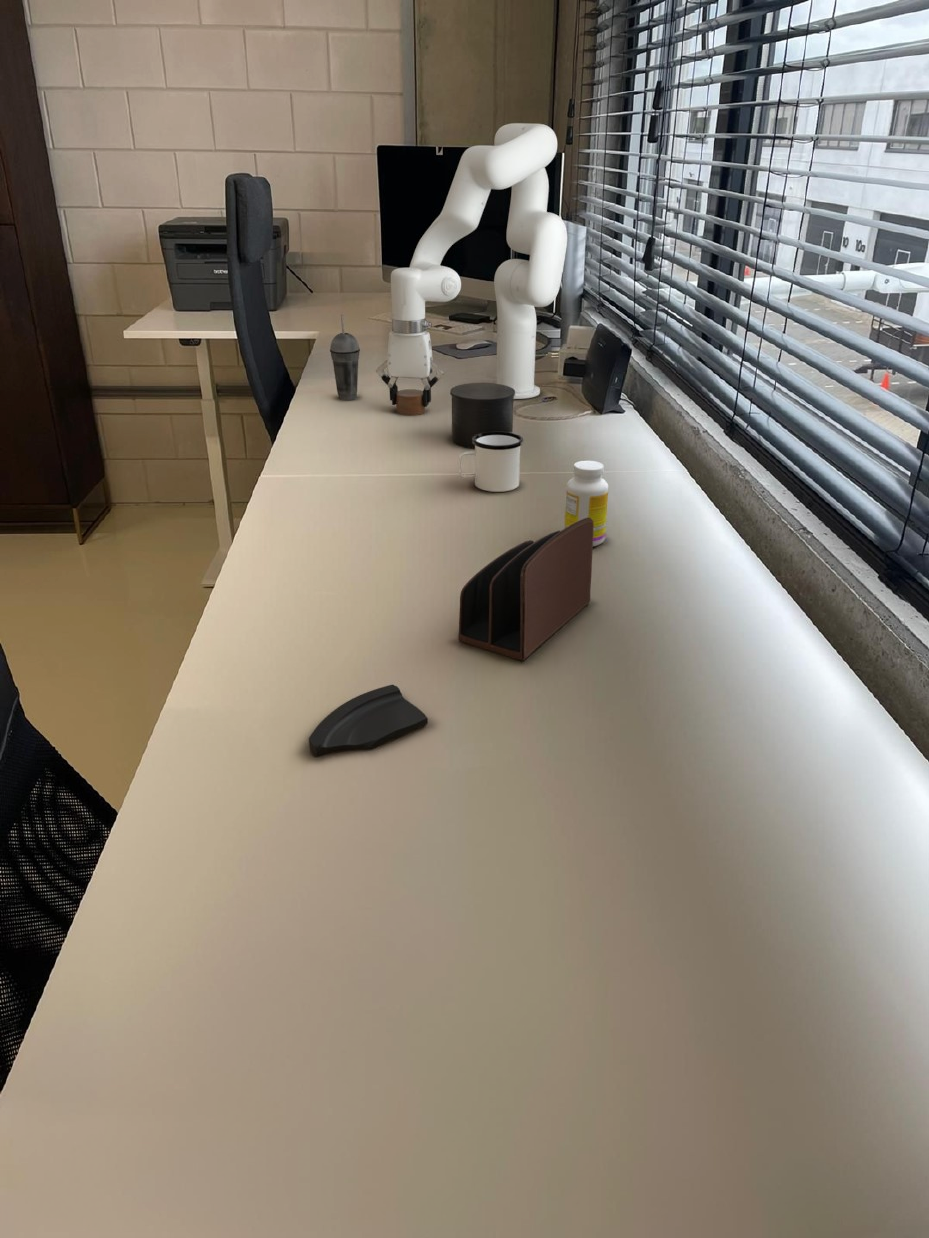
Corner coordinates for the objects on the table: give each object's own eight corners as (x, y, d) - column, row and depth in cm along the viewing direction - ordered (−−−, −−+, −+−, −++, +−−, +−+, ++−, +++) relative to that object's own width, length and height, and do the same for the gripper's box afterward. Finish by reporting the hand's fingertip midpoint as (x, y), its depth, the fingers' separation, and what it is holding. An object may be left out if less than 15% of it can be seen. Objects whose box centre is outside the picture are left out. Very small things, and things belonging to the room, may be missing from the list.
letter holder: (590, 603, 135) (597, 510, 128) (523, 663, 120) (527, 561, 113) (529, 586, 139) (532, 496, 133) (457, 642, 124) (457, 543, 118)
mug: (515, 475, 183) (516, 429, 179) (527, 492, 175) (529, 444, 170) (454, 479, 181) (454, 433, 176) (464, 496, 172) (464, 448, 168)
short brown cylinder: (400, 406, 226) (399, 388, 224) (427, 408, 225) (427, 389, 223) (393, 414, 220) (392, 395, 218) (421, 416, 219) (421, 397, 217)
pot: (456, 429, 210) (456, 381, 205) (517, 432, 208) (518, 384, 203) (444, 447, 198) (444, 397, 193) (509, 451, 196) (510, 400, 191)
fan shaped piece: (289, 731, 106) (288, 719, 106) (392, 694, 113) (392, 682, 112) (325, 768, 100) (323, 755, 99) (431, 726, 107) (431, 714, 106)
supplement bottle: (608, 535, 157) (614, 461, 151) (600, 550, 151) (606, 474, 145) (568, 530, 158) (573, 456, 152) (559, 545, 153) (563, 469, 147)
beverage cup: (365, 394, 236) (361, 311, 227) (359, 402, 230) (355, 317, 220) (336, 393, 237) (331, 311, 227) (329, 401, 230) (324, 316, 221)
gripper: (449, 324, 215) (449, 402, 224) (375, 322, 218) (378, 398, 226) (443, 331, 209) (443, 410, 217) (367, 328, 211) (370, 407, 220)
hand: (410, 404), depth 222 cm, fingers closed on short brown cylinder, 6 cm apart
